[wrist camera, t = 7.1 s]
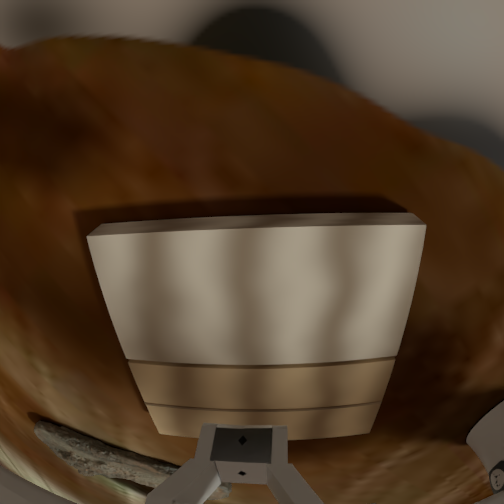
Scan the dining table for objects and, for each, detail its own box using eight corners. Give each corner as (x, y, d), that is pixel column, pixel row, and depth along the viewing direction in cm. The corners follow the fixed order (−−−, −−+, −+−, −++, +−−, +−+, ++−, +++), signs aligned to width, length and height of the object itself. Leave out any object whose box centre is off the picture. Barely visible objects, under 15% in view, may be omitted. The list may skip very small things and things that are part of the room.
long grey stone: (225, 486, 45) (237, 464, 41) (224, 510, 40) (237, 491, 36) (45, 437, 41) (33, 407, 38) (35, 457, 36) (20, 428, 33)
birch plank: (412, 212, 21) (426, 224, 19) (389, 337, 27) (396, 355, 24) (101, 223, 23) (86, 236, 21) (134, 341, 28) (126, 358, 26)
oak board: (388, 341, 27) (395, 360, 24) (365, 416, 32) (369, 433, 29) (136, 345, 28) (127, 363, 26) (164, 417, 33) (159, 434, 31)
